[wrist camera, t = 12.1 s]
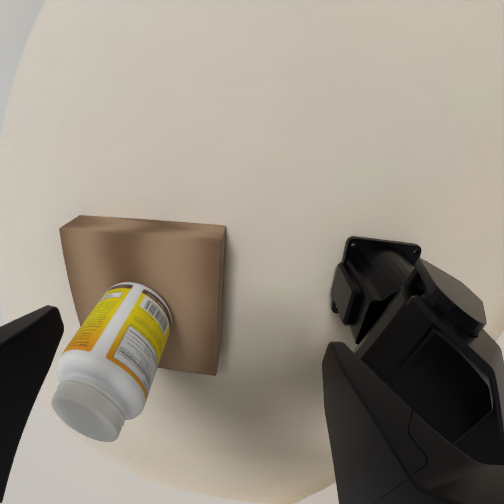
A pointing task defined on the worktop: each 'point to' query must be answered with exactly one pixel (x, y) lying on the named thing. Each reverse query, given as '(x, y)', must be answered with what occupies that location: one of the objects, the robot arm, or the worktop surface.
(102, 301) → the supplement bottle
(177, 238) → the walnut plinth
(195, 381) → the worktop surface
